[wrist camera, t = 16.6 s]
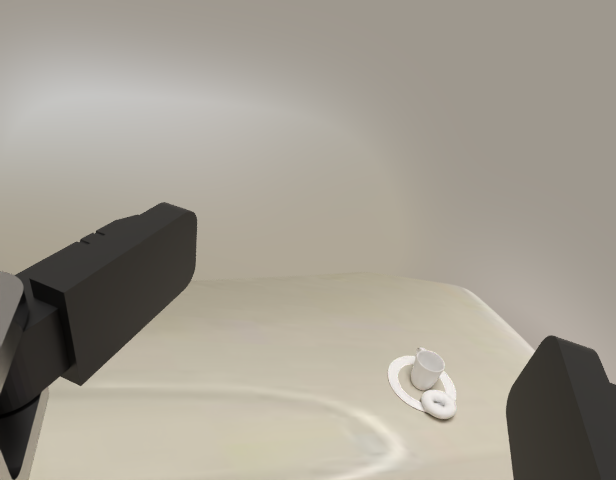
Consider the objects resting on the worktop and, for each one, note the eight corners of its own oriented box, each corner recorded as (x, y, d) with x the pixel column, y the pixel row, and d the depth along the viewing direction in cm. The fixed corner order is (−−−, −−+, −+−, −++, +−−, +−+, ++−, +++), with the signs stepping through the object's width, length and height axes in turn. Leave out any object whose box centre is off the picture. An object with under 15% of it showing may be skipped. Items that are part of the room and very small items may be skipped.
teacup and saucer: (458, 432, 41) (473, 407, 39) (384, 408, 42) (394, 383, 40) (451, 370, 49) (463, 346, 47) (388, 351, 50) (397, 327, 48)
